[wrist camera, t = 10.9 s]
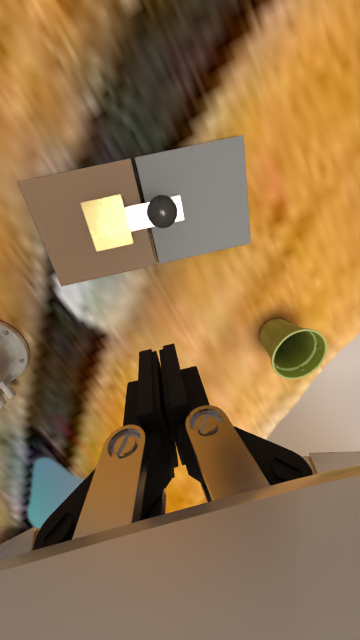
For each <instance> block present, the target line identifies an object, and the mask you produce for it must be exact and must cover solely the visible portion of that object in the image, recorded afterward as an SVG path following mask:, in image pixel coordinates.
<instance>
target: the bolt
mask: <svg viewBox="0 0 360 640" xmlns="http://www.w3.org/2000/svg"><path fill="white" fill-rule="evenodd" d="M125 211H126V215H127V219H128V222H129V226H130V230H131V231H135V230H140V229H144V228H149V227H153V226H156V227H159V228H167V227H169V226H171V225H172V224H173V223H174V222H176V221H181V220H184V215H183V210H182V204H181V198H180V196H176V197H171V198H170V197H168V196H166V195H158V196H156V197H154V198H153V199H152V200H151V201H150V202H148V203H143V204H139V205H134V206H130V207H125Z"/></svg>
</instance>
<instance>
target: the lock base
mask: <svg viewBox="0 0 360 640" xmlns="http://www.w3.org/2000/svg"><path fill="white" fill-rule="evenodd" d="M135 161H136V165H137V170H138V174H139V178H140V182H141V187H142V191H143V195H144V200H145V203H148V202H150V201H151V200H152V199H153V198H154V197H156V196H158V195H166V196H168V197H170V198H171V197H176V196H180V198H181V204H182V210H183V215H184V220H181V221H176V222H174V223H173V224H172V225H171V226H169V227H167V228H159V227H156V226H153V227H151V230H152V234H153V238H154V243H155V247H156V251H157V255H158V260H159V264H161V263H166V262H170V261H175V260H179V259H183V258H188V257H192V256H197V255H201V254H205V253H210V252H214V251H219V250H223V249H227V248H232V247H236V246H241V245H245V244H250V243H251V239H250V224H249V210H248V195H247V180H246V165H245V151H244V136H243V135H242V136H237V137H232V138H227V139H222V140H217V141H213V142H208V143H203V144H198V145H193V146H188V147H184V148H179V149H174V150H169V151H164V152H159V153H155V154H150V155H145V156H140V157H135ZM17 183H18V185H19V188H20V190H21V192H22V195H23V197H24V199H25V202H26V204H27V206H28V209H29V211H30V214H31V216H32V218H33V221H34V223H35V225H36V228H37V230H38V232H39V235H40V237H41V239H42V242H43V244H44V246H45V249H46V251H47V254H48V256H49V258H50V261H51V263H52V265H53V268H54V270H55V272H56V275H57V277H58V279H59V282H60V284H61V286H65V285H69V284H73V283H78V282H82V281H87V280H91V279H95V278H100V277H104V276H109V275H113V274H117V273H122V272H126V271H131V270H135V269H139V268H144V267H148V266H153V265H156V263H155V259H154V255H153V251H152V247H151V243H150V238H149V234H148V230H147V228H144V229H140V230H135V231H131V233H133V236H134V240H135V241H134V243H133V244H128V245H124V246H119V247H115V248H110V249H106V250H101V251H96V248H95V245H94V242H93V239H92V236H91V233H90V230H89V227H88V224H87V221H86V218H85V216H84V213H83V210H82V207H81V204H80V203H82V202H87V201H91V200H96V199H101V198H105V197H110V196H115V195H119V194H121V195H122V196H123V199H124V203H125V205H124V207H130V206H134V205H139V204H141V201H140V197H139V192H138V188H137V184H136V180H135V176H134V172H133V167H132V163H131V159H126V160H121V161H116V162H111V163H106V164H101V165H97V166H92V167H87V168H82V169H77V170H73V171H68V172H63V173H58V174H53V175H48V176H44V177H39V178H34V179H29V180H24V181H19V182H17Z"/></svg>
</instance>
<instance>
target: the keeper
mask: <svg viewBox="0 0 360 640" xmlns="http://www.w3.org/2000/svg"><path fill="white" fill-rule="evenodd" d="M80 204H81V207H82V210H83V213H84V216H85V218H86V221H87V224H88V227H89V230H90V233H91V236H92V239H93V242H94V245H95V248H96V251H101V250H106V249H110V248H115V247H119V246H124V245H128V244H133V243H134V241H135V240H134V236H133V233H131V230H130V226H129V222H128V219H127V215H126V211H125V207H124V205H125V203H124V199H123V196H122V195H121V194H119V195H115V196H110V197H105V198H101V199H96V200H91V201H87V202H82V203H80Z"/></svg>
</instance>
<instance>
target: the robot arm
mask: <svg viewBox="0 0 360 640" xmlns="http://www.w3.org/2000/svg"><path fill="white" fill-rule="evenodd" d="M159 352H160V362H161V366H160V363H159V359H158V356H157V352H156V351H154V352H152V350H151V349H149V350H145V351H141V352H140V353H139V374H138V380H137V381H133V382H129V383H128V385H127V394H126V403H125V413H124V422H123V426H122V427H120V428H119V429H117V430H115V431H114V432H113V433H112V434H111V435H110V436H109V437H108V438H107V440H106V442H105V444H104V446H103V449H102V452H101V455H100V458H99V461H98V464H97V467H96V468H95V470H94V471H93V472H92V473H91V474H90V475H89V476H88V477H87V478H86V479H85V480H84V481H83V482H82V483H81V484H80V485H79V486H78V487H77V488H76V489H75V490H74V491H73V492H72V493H71V494H70V496H69V497H68V498H67V499H66V500H65V501H64V502H63V503H62V504H61V505H60V506H59V507H58V508H57V509H56V510H55V511H54V512H53V513H52V514H51V515H50V517H49V518H48V519H47V520H46V521H45V523H44V524H43V525H42V527H41V528H39V529H37V528H36V527H33V528H31V529H29V530H27V531H25V532H23V533H21V534H19V535H17V536H15V537H14V538H12V539H10V540H8V541H6V542H4V543H2V544H0V640H360V452H327V453H309V456H306V457H301V456H300V455H298V454H296V453H295V452H293V451H291V450H288V449H286V448H284V447H281V446H279V445H277V444H274V443H272V442H270V441H267V440H265V439H263V438H260V437H258V436H255V435H253V434H251V433H248V432H246V431H244V430H241V429H239V428H237V427H234V426H233V425H232V424H231V422H230V420H229V419H228V417H227V416H226V414H225V413H224V412H223V411H222V410H221V409H220V408H218V407H215V406H211V405H209V402H208V399H207V396H206V393H205V390H204V387H203V384H202V381H201V378H200V376H199V373H198V370H197V367H196V366H194V367H190V368H186V369H182V370H180V366H179V362H178V358H177V354H176V350H175V345H174V344H170V345H166V346H163V349H162V350H159ZM28 363H29V349H28V346H27V344H26V342H25V340H24V339H23V337H22V336H21V335H20V334H19V333H18V332H17V331H16V330H15V329H14V328H12V327H11V326H9V325H8V324H6V323H4V322H1V321H0V389H2V391H3V393H4V395H5V396H6V398H7V399H10V398H12V397H14V396H15V394H16V393H15V392H14V390H13V389H12V388H11V386H10V385H9V384H10V381H12V380H14V379H16V378H17V377H19V376H20V375H21V374H22V373H23V371H24V370H25V369H26V367H27V365H28ZM5 404H6V400H5V399H4V397H3V396H2V394H1V393H0V407H2V406H4V405H5ZM175 443H176V444H175ZM176 446H177V449H178V453H179V456H180V459H181V463H182V465H186V467H187V471H188V474H189V475H190V476H191V477H193V478H195V479H196V480H198V481H199V482H200V483H201V487H202V490H203V493H204V495H205V498H206V501H207V503H204V504H200V505H196V506H193V507H189V508H185V509H182V510H178V511H174V512H171V513H167V514H165V510H166V489H165V488H166V487H167V485H168V484H169V482H170V481H171V478H174V477H175V476H174V467H178V459H177V451H176Z"/></svg>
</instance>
